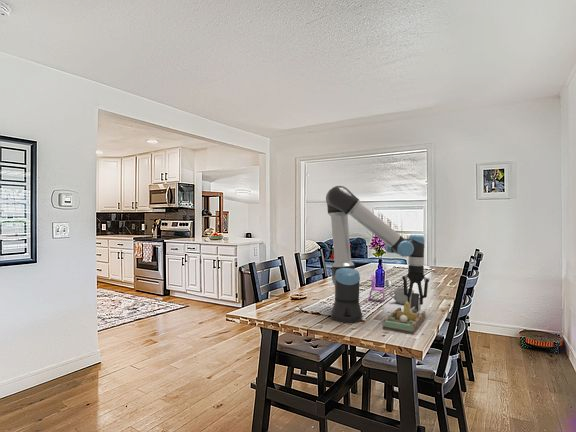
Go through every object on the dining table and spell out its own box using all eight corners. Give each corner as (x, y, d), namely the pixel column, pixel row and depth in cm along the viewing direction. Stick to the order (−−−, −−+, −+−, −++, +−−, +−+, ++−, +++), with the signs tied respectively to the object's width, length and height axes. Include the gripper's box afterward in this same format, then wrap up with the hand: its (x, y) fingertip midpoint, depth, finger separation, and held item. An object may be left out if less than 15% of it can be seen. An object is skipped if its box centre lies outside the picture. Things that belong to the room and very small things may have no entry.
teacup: (411, 301, 216) (411, 287, 216) (415, 306, 206) (416, 291, 206) (387, 300, 218) (387, 286, 218) (390, 305, 207) (390, 290, 207)
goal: (413, 331, 157) (413, 325, 157) (382, 326, 163) (383, 320, 163) (416, 326, 163) (417, 321, 163) (387, 321, 170) (387, 316, 170)
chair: (383, 303, 211) (383, 276, 211) (367, 301, 214) (368, 275, 214) (384, 300, 219) (385, 274, 219) (369, 298, 222) (370, 273, 222)
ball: (404, 324, 167) (404, 316, 167) (397, 322, 169) (398, 314, 169) (408, 323, 169) (409, 315, 169) (402, 321, 172) (402, 313, 172)
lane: (413, 334, 157) (413, 324, 157) (382, 328, 163) (383, 319, 163) (425, 318, 181) (425, 309, 181) (398, 314, 188) (398, 305, 188)
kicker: (416, 321, 172) (416, 302, 172) (396, 318, 176) (397, 299, 176) (424, 311, 190) (425, 294, 190) (406, 309, 195) (407, 292, 194)
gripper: (434, 265, 189) (433, 311, 190) (401, 262, 198) (400, 306, 198) (431, 267, 183) (430, 314, 183) (397, 264, 191) (396, 309, 192)
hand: (414, 310), depth 191 cm, fingers closed on kicker, 4 cm apart
